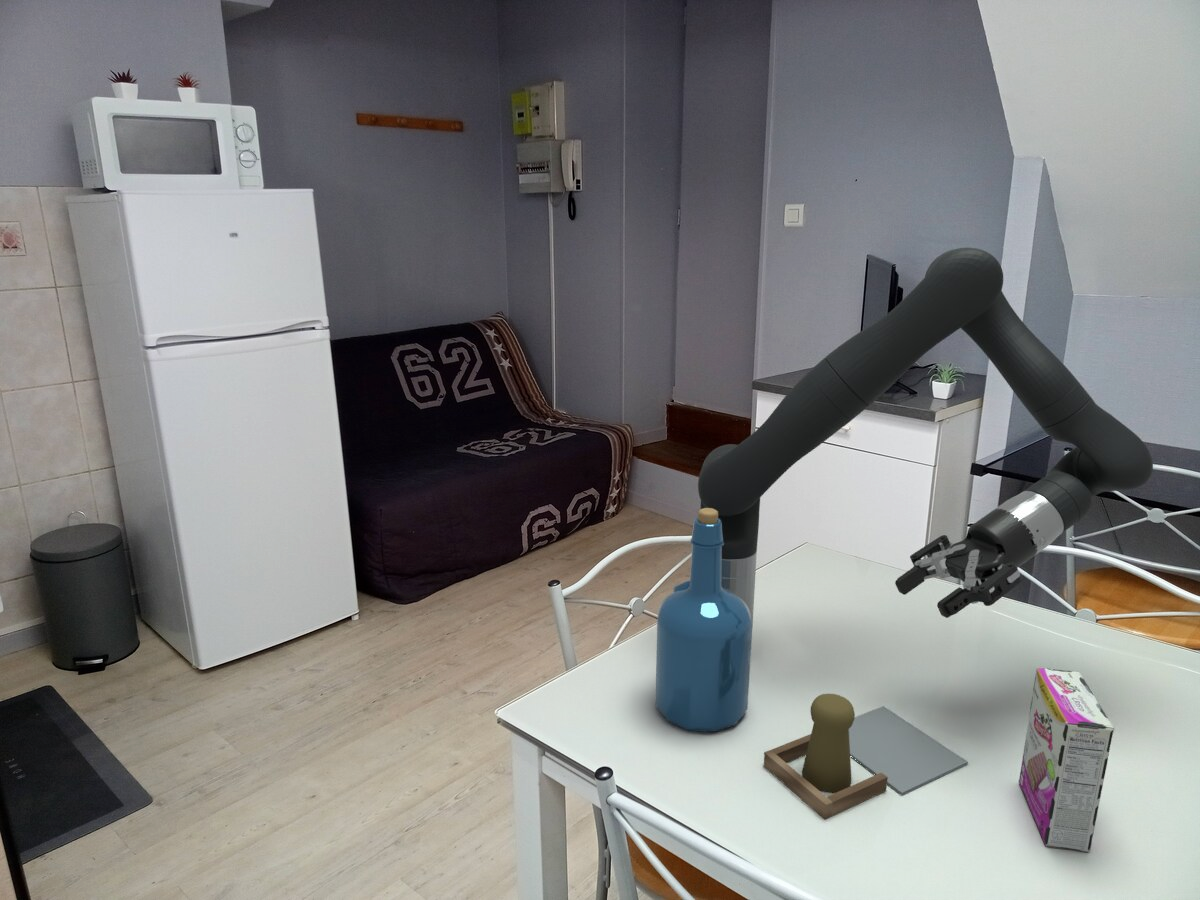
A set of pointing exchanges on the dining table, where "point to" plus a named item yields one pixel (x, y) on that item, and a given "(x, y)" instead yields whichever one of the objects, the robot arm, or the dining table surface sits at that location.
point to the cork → (829, 744)
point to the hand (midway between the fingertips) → (919, 599)
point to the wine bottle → (703, 641)
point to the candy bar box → (1065, 758)
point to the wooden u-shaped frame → (811, 795)
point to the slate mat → (899, 750)
